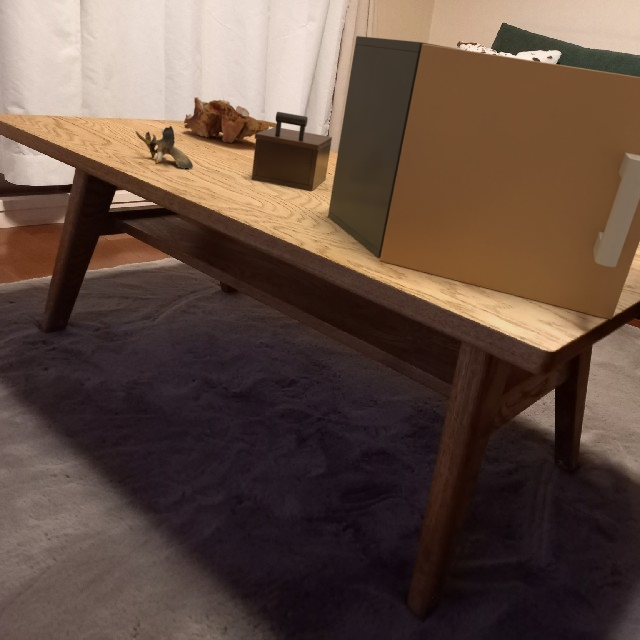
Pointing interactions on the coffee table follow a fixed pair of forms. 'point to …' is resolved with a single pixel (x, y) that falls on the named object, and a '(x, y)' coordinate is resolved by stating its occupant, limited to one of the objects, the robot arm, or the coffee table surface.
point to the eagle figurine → (166, 147)
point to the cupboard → (373, 136)
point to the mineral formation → (224, 121)
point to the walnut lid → (293, 133)
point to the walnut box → (290, 164)
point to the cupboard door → (519, 178)
